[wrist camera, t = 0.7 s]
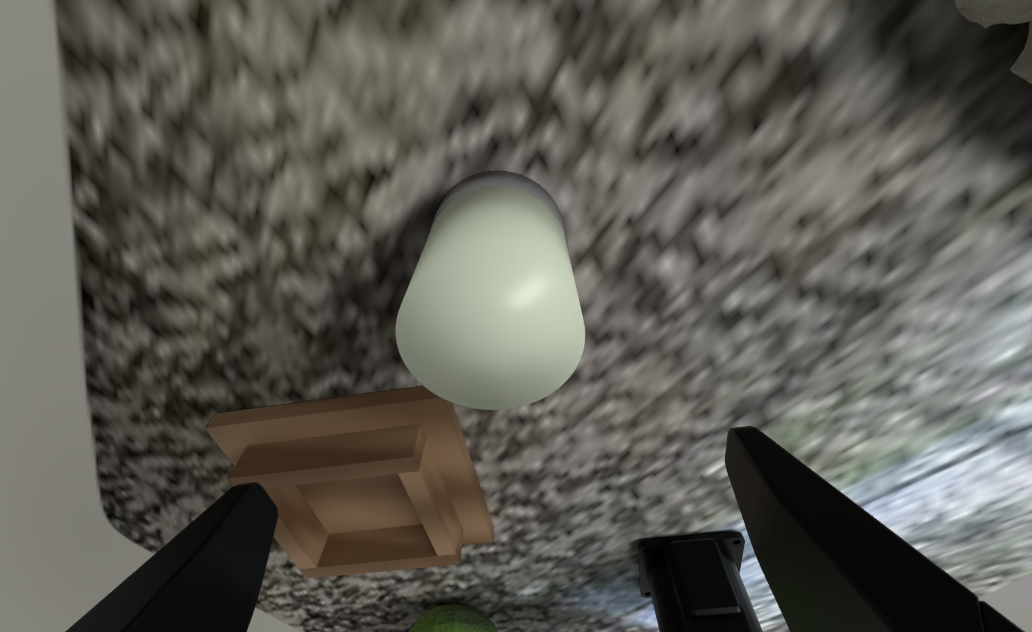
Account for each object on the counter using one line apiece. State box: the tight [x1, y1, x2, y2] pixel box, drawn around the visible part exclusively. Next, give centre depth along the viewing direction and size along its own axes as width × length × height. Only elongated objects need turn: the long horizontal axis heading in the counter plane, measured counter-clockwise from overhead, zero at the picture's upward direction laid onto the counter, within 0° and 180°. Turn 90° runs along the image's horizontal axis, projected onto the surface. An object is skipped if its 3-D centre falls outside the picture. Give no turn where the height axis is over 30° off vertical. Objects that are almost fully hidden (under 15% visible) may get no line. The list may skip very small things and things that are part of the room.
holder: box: [205, 386, 494, 578], centre depth 25 cm, size 12×12×3 cm
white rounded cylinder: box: [396, 171, 585, 410], centre depth 15 cm, size 5×5×7 cm
